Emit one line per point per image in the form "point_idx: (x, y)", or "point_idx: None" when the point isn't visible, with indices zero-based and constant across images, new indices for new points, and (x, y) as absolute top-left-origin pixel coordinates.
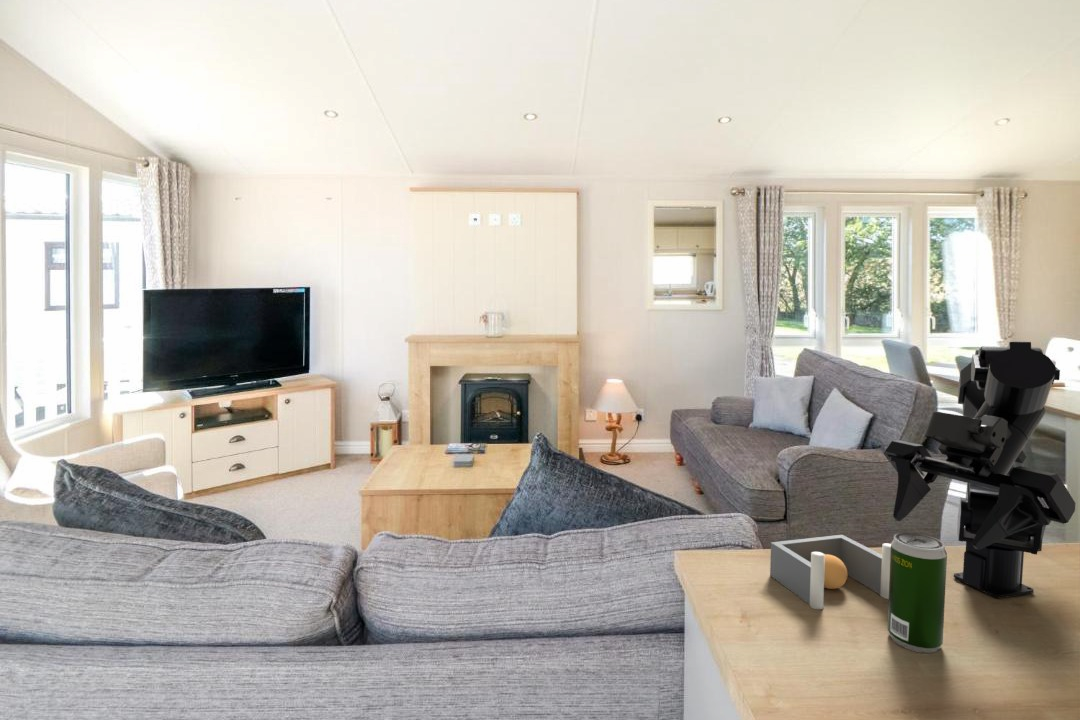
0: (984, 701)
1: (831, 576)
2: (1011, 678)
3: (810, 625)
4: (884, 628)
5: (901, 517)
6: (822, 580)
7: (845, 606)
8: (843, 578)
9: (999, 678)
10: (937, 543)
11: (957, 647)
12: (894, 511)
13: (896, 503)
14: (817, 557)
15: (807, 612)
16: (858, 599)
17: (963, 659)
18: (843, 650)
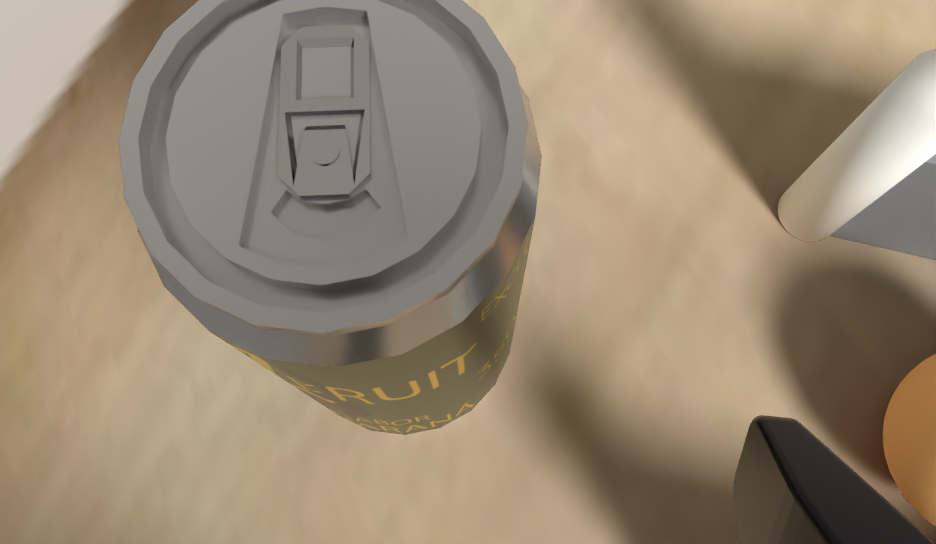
0: (68, 164)
1: (923, 367)
2: (59, 406)
3: (695, 56)
4: (533, 315)
5: (745, 515)
6: (835, 151)
7: (752, 340)
8: (893, 438)
9: (87, 362)
10: (196, 215)
11: (281, 452)
12: (816, 445)
13: (880, 508)
14: (916, 57)
15: (783, 133)
16: None
17: (224, 375)
18: (507, 18)
